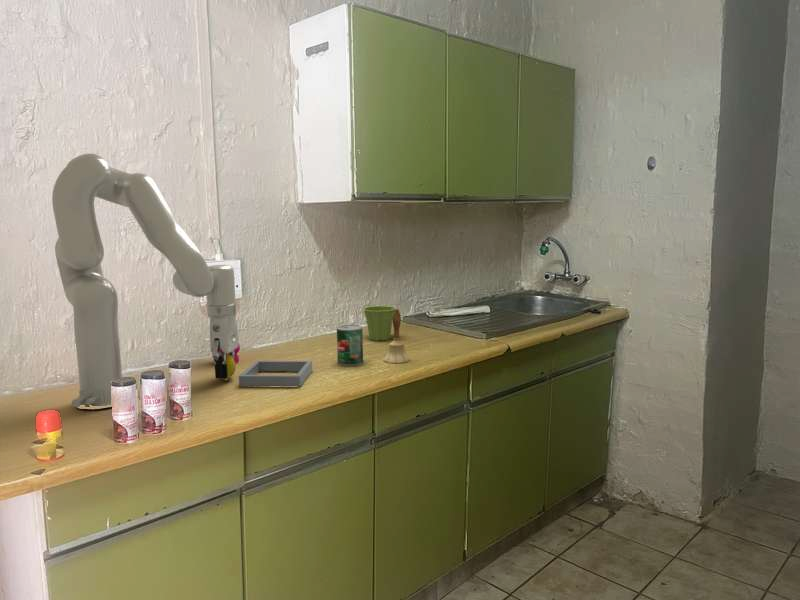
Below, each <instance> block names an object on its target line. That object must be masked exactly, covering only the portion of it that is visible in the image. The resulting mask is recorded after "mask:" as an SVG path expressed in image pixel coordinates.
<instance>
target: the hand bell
mask: <svg viewBox="0 0 800 600" xmlns="http://www.w3.org/2000/svg"><path fill="white" fill-rule="evenodd" d="M401 324H402V316H401V313H400V310H399V309H398V308H396V309H395V310H394V314H393V319H392V327H393V341H391V342H390V343H389V345H388V350H387V354H386V355H385V356H384V358H383V362H384V363H387V364H403V363H408V362H410V361H411V358H410V357H409V356H408V355H407V353H406V350H405V349H406V348H405V345H404V342H402V341H400V327H401Z"/></svg>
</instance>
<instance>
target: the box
mask: <svg viewBox="0 0 800 600" xmlns="http://www.w3.org/2000/svg"><path fill="white" fill-rule="evenodd" d="M259 371H289V372H288V373H296V374H259V373H260V372H259ZM290 371H291V372H290ZM258 372H259V373H258ZM312 372H313V360H255V361H254V362H253V363H252V364H251V365H250V366H248V367H247V369H245V370H244V371H243V372H242V373H240V374H239V376H238V385H239V386H301V385H302V386H303V384H304V383H305V382H304V381H306V380H307V379H308V377H309V376H310V375H311V374H312ZM257 373H258V374H257ZM256 374H257V375H256ZM306 378H307V379H306ZM303 382H304V383H303ZM239 386H238V387H239ZM302 386H301V387H302Z"/></svg>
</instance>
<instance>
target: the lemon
mask: <svg viewBox="0 0 800 600" xmlns="http://www.w3.org/2000/svg"><path fill="white" fill-rule="evenodd" d="M219 356H221V357H222V356H223V355H219ZM225 364H227V375H228V377H227V378H226V379H227V380H229V379H230V378H231V377H232V376H233V375H234V374H235V371H236V363H235V361H234V359H233V357H232V356H231V355H230V354H226V362H225Z"/></svg>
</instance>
